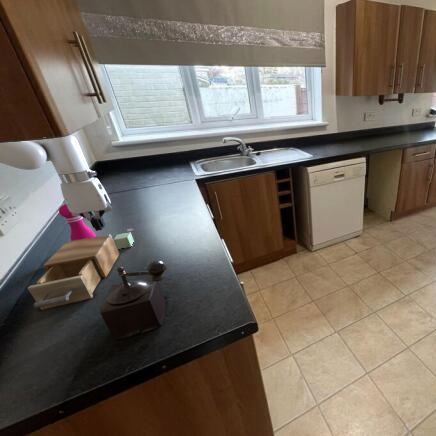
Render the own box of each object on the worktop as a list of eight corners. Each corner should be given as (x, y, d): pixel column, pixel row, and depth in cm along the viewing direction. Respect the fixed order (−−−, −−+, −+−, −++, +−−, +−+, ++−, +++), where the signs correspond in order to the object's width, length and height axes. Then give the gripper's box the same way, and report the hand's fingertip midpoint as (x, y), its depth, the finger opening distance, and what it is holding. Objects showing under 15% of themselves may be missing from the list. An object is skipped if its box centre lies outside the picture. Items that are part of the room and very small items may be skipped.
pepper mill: (99, 240, 110) (78, 194, 101) (100, 247, 105) (78, 200, 96) (76, 247, 106) (52, 199, 97) (76, 254, 101) (50, 205, 92)
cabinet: (107, 280, 86) (95, 255, 82) (58, 291, 82) (43, 265, 78) (120, 257, 98) (110, 234, 94) (78, 265, 94) (66, 241, 90)
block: (117, 249, 103) (113, 239, 101) (121, 244, 107) (117, 234, 105) (131, 247, 104) (127, 237, 102) (134, 241, 108) (130, 232, 106)
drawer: (85, 311, 73) (72, 288, 69) (31, 323, 69) (15, 300, 66) (107, 272, 88) (98, 252, 85) (65, 281, 85) (53, 261, 81)
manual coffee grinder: (111, 343, 64) (79, 283, 56) (123, 312, 73) (96, 256, 65) (183, 322, 69) (163, 265, 61) (186, 295, 78) (168, 242, 70)
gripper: (109, 170, 89) (129, 220, 97) (53, 176, 84) (79, 228, 92) (100, 176, 82) (122, 229, 90) (39, 183, 78) (68, 238, 86)
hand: (100, 228), depth 91 cm, fingers closed
